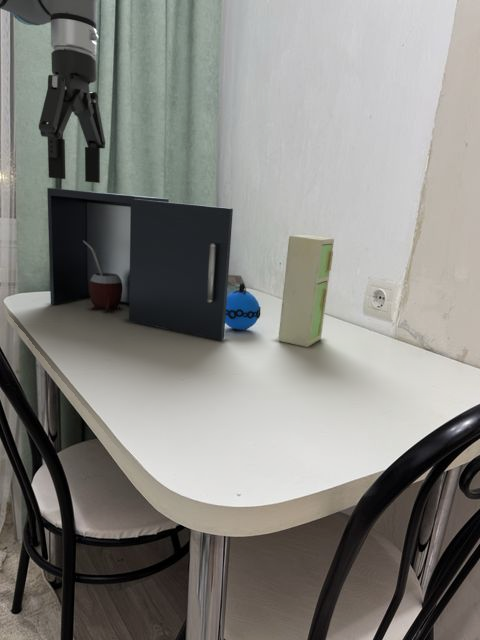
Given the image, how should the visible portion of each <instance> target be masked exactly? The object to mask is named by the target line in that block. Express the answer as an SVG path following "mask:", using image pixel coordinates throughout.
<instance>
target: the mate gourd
mask: <svg viewBox="0 0 480 640" xmlns="http://www.w3.org/2000/svg"><path fill="white" fill-rule="evenodd" d="M83 242H84V243H85V244H86V245H87V246H88V247H89V248H90V249H91V250H92V254H93V256H94V258H95V261H96V264H97V267H98V270H99V273H95V274H94V275H93V276H92V278H91V281H90V286H89V288H90V298H91V299H90V301H91V304H92V307H91V310H92V311H105V312H106V313H112V312H111V311H115V310H116V311H117V310H119V311H120V310H121V307H120V305H119V304H120V301H121V297H122V289H123V288H122V281H121V279H120V277H119V276H118V275H117V274H113V273H102V271H101V268H100V265H99V262H98V259H97V256H96V255H97V254H96V252H95V251H94V249H93V248H92V247H91V246H90V245H89V244H88V243H87V242H85V241H84V240H83Z"/></svg>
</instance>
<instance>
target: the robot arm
mask: <svg viewBox="0 0 480 640" xmlns="http://www.w3.org/2000/svg"><path fill="white" fill-rule="evenodd" d="M97 2H98V0H0V10H3V11H6V12H8V13H10V14H11V15H12V16H13V17H14V18H15V19H16V20H17V21H18V22H20V23H22V24H23V25H26V26H43V25H47V24H49V23H50V47H51V48H52V52H51V55H50V56H51V58H50V59H51V74H48V76H47V90H46V94H45V98H44V102H43V106H42V110H41V114H40V119H39V123H38V130H39V131H40V132H39V133H40V136H41V137H45V138H47V163H48V165H47V167H48V178H49V179H58V180H59V179H60V180H66V139H64V138H62V136H63V134H64V132H65V130H66V127H67V125H68V122H69V120H70V118H71V117H72V114H73V115H74V116H75V117H77V120H78V122H79V126H80V127H81V131H82V134H83V136H84V139H85V142H86V145H87V146H85V147H84V181H85V182H87V183H94V184H95V183H97V184H101V175H100V174H101V167H100V166H101V162H100V161H101V160H100V159H101V149H105V148H106V138H105V133H104V127H103V123H102V117H101V112H100V107H99V94H98V92H97V91H90V84H91V83H92V84H93V83H95V82H96V81H97V80H98V65H97V64H98V61H97V59H96V58H95V57H96V55H97V41H98V40H99V35H98V34H97V13H98V11H97V10H98V9H97V8H98V7H97V5H98V4H97Z"/></svg>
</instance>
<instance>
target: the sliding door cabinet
mask: <svg viewBox="0 0 480 640" xmlns="http://www.w3.org/2000/svg"><path fill="white" fill-rule="evenodd" d="M46 191H47V195H46V196H47V225H48V258H49V259H48V260H49V262H48V263H49V292H50V305H52V306H55V305H60V304H61V305H62V304H66V303H70V302H76V301H81V300H87V299H90V300H91V298H90V288H89V286H90V281H91V278H92V276H93V275H94V274H95V273H99V270H98V267H97V264H96V261H95V258H94V256H93V254H92V250H91V249H90V248H89V247H88V246H87V245H86V244H85V243H84V242H83V240H84V241H85V242H87V243H88V244H89V245H90V246H91V247H92V248H93V249H94V251H95V252H96V254H97V255H96V256H97V259H98V262H99V265H100V268H101V271H102V273H113V274H117V275H118V276H119V277H120V279H121V281H122V288H123V289H122V297H121V301H120V304H119V306H124V307H128V321H129V322H131V323H136V324H141V325H146V326H151V327H156V328H160V329H165V330H171V331H174V332H179V333H184V334H190V335H194V336H199V337H204V338H209V339H212V340H213V339H214V340H218V341H223V340H224V339H225V331H226V323H225V317H226V302H227V288H228V275H229V274H230V273H229V271H230V257H231V242H232V230H233V229H232V228H233V216H234V215H233V213H234V208H230V207H221V206H211V205H201V204H192V203H191V204H190V203H181V202H171V201H170V198H163V197H155V196H154V197H152V196H145V195H144V196H142V195H131V194H122V193H112V192H103V191H101V192H100V191H91V190H78V189H67V188H66V189H65V188H55V187H53V188H52V187H47V190H46Z"/></svg>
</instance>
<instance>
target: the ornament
mask: <svg viewBox="0 0 480 640" xmlns="http://www.w3.org/2000/svg"><path fill="white" fill-rule="evenodd" d="M244 284H245V283H244ZM244 284H243V283H241V284H240V286H239V290H237V291H234V292H232V293H230V294H229V295H227V302H226V317H225V325H226V326H227V327H229V328H231V329H233V330H236V331H244V330H249V328H251V327H253V326H254V325H255V324H256V322H257V321H258V320H259V319H260V317H261V306H260V304H259V301H258V299H257V298H256V297H255V296H254V295H253V294H252V293H251V292H249V291H247V290H246V291H244V288H245V287H246V284H245V285H244Z"/></svg>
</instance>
